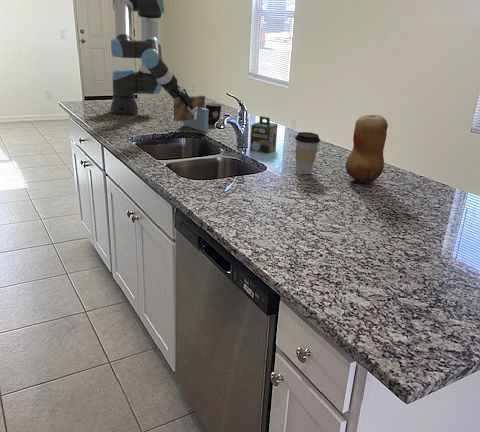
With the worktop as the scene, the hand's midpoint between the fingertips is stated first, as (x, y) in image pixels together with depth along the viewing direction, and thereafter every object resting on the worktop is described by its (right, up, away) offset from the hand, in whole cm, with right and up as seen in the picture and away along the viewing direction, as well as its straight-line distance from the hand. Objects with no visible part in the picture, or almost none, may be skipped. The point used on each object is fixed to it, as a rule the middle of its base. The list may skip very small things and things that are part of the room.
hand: (192, 112), depth 230 cm
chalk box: (+34, -22, -24) cm, 47 cm away
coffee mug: (+7, -2, +20) cm, 21 cm away
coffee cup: (+48, -35, -51) cm, 78 cm away
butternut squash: (+69, -39, -56) cm, 97 cm away
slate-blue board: (+1, -7, +5) cm, 9 cm away
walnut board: (-2, -3, 0) cm, 4 cm away
